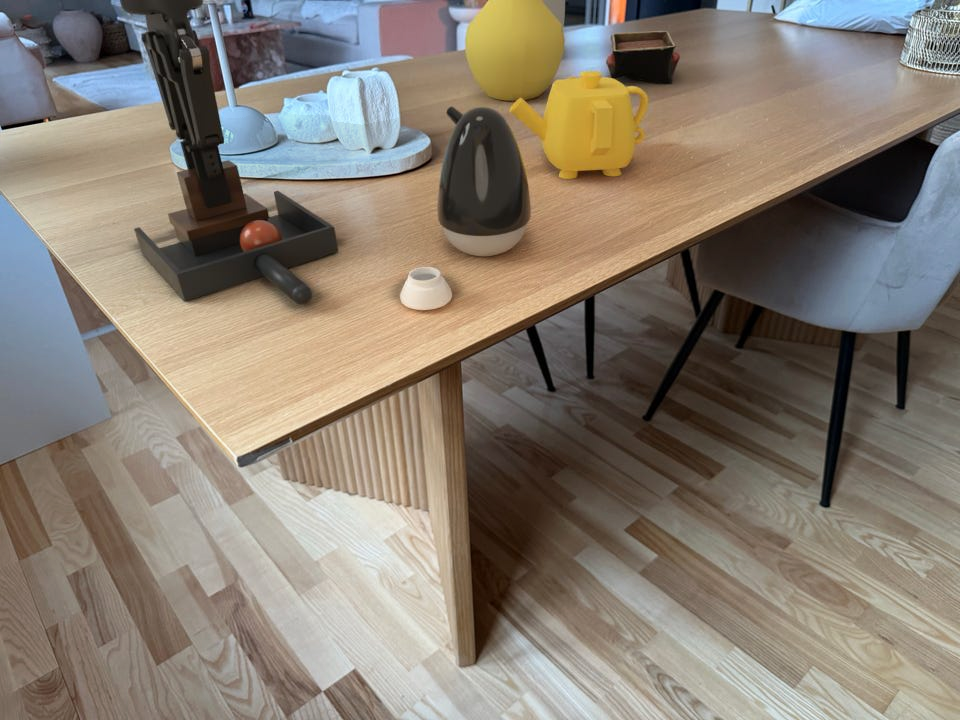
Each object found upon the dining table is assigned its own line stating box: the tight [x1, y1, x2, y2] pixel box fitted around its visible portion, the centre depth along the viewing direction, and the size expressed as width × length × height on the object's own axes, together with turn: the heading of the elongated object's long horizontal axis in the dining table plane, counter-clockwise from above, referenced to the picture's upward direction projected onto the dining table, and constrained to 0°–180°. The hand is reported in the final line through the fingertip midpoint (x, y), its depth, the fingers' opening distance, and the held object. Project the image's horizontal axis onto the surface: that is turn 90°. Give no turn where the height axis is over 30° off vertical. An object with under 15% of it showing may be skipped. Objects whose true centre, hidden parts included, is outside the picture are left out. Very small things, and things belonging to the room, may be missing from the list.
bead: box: [240, 220, 282, 252], centre depth 76 cm, size 4×4×4 cm
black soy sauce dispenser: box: [436, 106, 532, 257], centre depth 74 cm, size 10×10×15 cm
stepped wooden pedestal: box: [167, 159, 270, 256], centre depth 80 cm, size 6×9×8 cm
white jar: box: [399, 266, 453, 311], centre depth 68 cm, size 5×3×5 cm
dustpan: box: [133, 190, 339, 305], centre depth 74 cm, size 25×17×3 cm
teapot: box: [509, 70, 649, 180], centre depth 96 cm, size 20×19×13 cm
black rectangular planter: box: [605, 30, 681, 85], centre depth 141 cm, size 14×18×10 cm
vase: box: [464, 0, 566, 102], centre depth 125 cm, size 18×18×30 cm
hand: (213, 200), depth 79 cm, fingers closed on stepped wooden pedestal, 2 cm apart
